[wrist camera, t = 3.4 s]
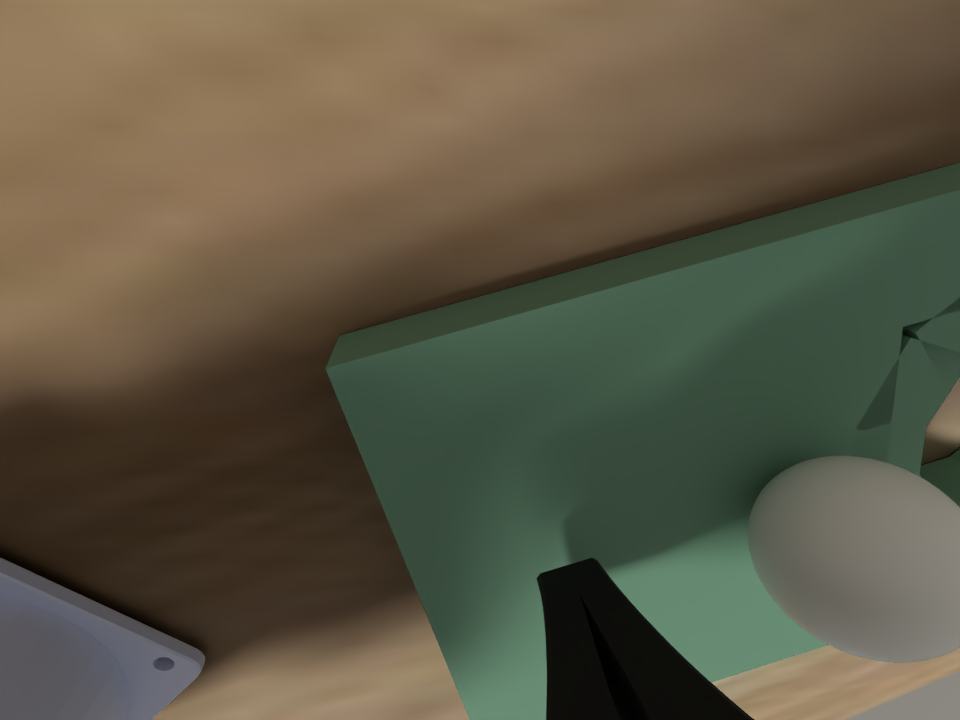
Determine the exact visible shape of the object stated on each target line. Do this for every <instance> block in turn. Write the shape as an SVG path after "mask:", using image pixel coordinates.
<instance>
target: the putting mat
mask: <svg viewBox="0 0 960 720" xmlns="http://www.w3.org/2000/svg"><path fill="white" fill-rule="evenodd" d="M325 369H326V371H327V374H328V376H329V379H330V381H331V384H332V386H333V388H334V391H335V393H336V396H337V398H338V401H339V403H340V405H341V408H342V410H343V413H344V415H345V418H346V420H347V422H348V425H349V427H350V430H351V432H352V435H353V437H354V439H355V442H356V444H357V447H358V449H359V452H360V454H361V456H362V459H363V461H364V464H365V466H366V469H367V471H368V473H369V476H370V478H371V481H372V483H373V486H374V488H375V491H376V493H377V495H378V498H379V500H380V503H381V505H382V508H383V510H384V512H385V515H386V517H387V520H388V522H389V525H390V527H391V529H392V532H393V534H394V537H395V539H396V542H397V544H398V546H399V549H400V551H401V554H402V556H403V559H404V561H405V563H406V566H407V568H408V571H409V573H410V576H411V578H412V580H413V583H414V585H415V588H416V590H417V593H418V595H419V597H420V600H421V602H422V605H423V607H424V610H425V612H426V614H427V617H428V619H429V622H430V624H431V627H432V629H433V631H434V634H435V636H436V639H437V641H438V644H439V646H440V648H441V651H442V653H443V656H444V658H445V661H446V663H447V665H448V668H449V670H450V673H451V675H452V678H453V680H454V682H455V685H456V687H457V690H458V692H459V695H460V697H461V699H462V702H463V704H464V707H465V709H466V712H467V714H468V717H469V719H470V720H546V699H547V662H546V636H545V624H544V614H543V606H542V600H541V594H540V590H539V586H538V582H537V579H536V578H537V577H538V576H539V574H540V573H543V572H546V571H549V570H553V569H556V568H559V567H563V566H566V565H569V564H572V563H576V562H579V561H582V560H586V559H589V558H594V559H596V560H598V562H599V563H600V565H601V566H602V567H603V569H604V570H605V571H606V573H607V574H608V575H609V577H610V578H611V579H612V580H613V582H614V583H615V584H616V585H617V586H618V588H619V589H620V590H621V591H622V592H623V594H624V595H625V596H626V597H627V598H628V599H629V600H630V602H631V603H632V604H633V605H634V606H635V607H636V608H637V610H638V611H639V612H640V613H641V614H642V615H643V616H644V617H645V618H646V619H647V620H648V621H649V622H650V623H651V624H652V625H653V627H654V628H655V629H656V630H657V631H658V632H659V633H660V634H661V635H662V636H663V637H664V638H665V639H666V640H667V641H668V642H669V643H670V644H671V645H672V646H673V647H674V648H675V649H676V650H677V651H678V652H679V653H680V654H681V655H682V656H683V657H684V658H685V659H686V660H687V661H688V662H689V663H691V664H692V665H693V666H694V667H695V668H696V669H697V670H698V671H699V672H700V673H701V674H702V675H703V676H704V677H705V678H707V679H708V680H709V681H710V682H714V681H717V680H720V679H724V678H727V677H730V676H733V675H736V674H739V673H742V672H745V671H748V670H752V669H755V668H758V667H761V666H764V665H767V664H770V663H773V662H776V661H779V660H783V659H786V658H789V657H792V656H795V655H798V654H801V653H804V652H807V651H810V650H814V649H817V648H820V647H823V646H826V645H829V644H827V643H825V642H823V641H821V640H819V639H817V638H816V637H814V636H813V635H811V634H809V633H808V632H806V631H805V630H804V629H802V628H801V627H800V626H799V625H798V624H796V623H795V622H794V621H793V620H791V619H790V618H789V617H788V616H787V615H786V614H785V613H784V612H783V611H782V610H781V609H780V608H779V607H778V605H777V604H776V603H775V602H774V600H773V599H772V598H771V597H770V595H769V594H768V593H767V591H766V589H765V588H764V586H763V584H762V583H761V581H760V579H759V577H758V575H757V573H756V570H755V568H754V565H753V562H752V559H751V555H750V551H749V544H748V524H749V519H750V514H751V511H752V508H753V505H754V503H755V501H756V499H757V497H758V496H759V494H760V492H761V491H762V490H763V488H764V487H765V486H766V485H767V484H768V483H769V482H770V481H771V480H772V479H773V478H774V477H775V476H776V475H778V474H779V473H781V472H782V471H784V470H786V469H787V468H789V467H792V466H794V465H796V464H798V463H801V462H803V461H806V460H810V459H815V458H820V457H827V456H855V457H863V458H870V459H874V460H878V461H882V462H886V463H889V464H892V465H895V466H897V467H900V468H903V469H905V470H907V471H909V472H911V473H913V474H915V475H917V476H919V477H921V478H923V479H925V480H926V481H928V482H929V483H931V484H932V485H934V486H935V487H937V488H938V489H939V490H941V491H942V492H943V493H944V494H946V495H947V496H948V497H949V498H950V499H951V500H953V501H954V502H955V503H956V504H957V505H958V506H959V507H960V449H959V450H958V451H956V452H955V453H954V454H952V455H951V456H950V457H947V458H944V459H940V460H937V461H934V462H931V463H927V464H924V465H921V460H922V454H923V447H924V441H925V434H926V428H927V426H928V424H929V423H930V421H931V420H932V418H933V417H934V415H935V414H936V412H937V411H938V409H939V407H940V406H941V404H942V403H943V401H944V400H945V398H946V397H947V395H948V394H949V392H950V391H951V389H952V388H953V386H954V385H955V383H956V382H957V380H958V379H959V377H960V163H956V164H953V165H949V166H945V167H942V168H938V169H935V170H931V171H927V172H924V173H920V174H917V175H913V176H910V177H906V178H902V179H899V180H895V181H892V182H888V183H884V184H881V185H877V186H874V187H870V188H867V189H863V190H859V191H856V192H852V193H849V194H845V195H841V196H838V197H834V198H831V199H827V200H824V201H820V202H816V203H813V204H809V205H806V206H802V207H798V208H795V209H791V210H788V211H784V212H781V213H777V214H773V215H770V216H766V217H763V218H759V219H755V220H752V221H748V222H745V223H741V224H738V225H734V226H730V227H727V228H723V229H720V230H716V231H712V232H709V233H705V234H702V235H698V236H695V237H691V238H687V239H684V240H680V241H677V242H673V243H669V244H666V245H662V246H659V247H655V248H652V249H648V250H644V251H641V252H637V253H634V254H630V255H626V256H623V257H619V258H616V259H612V260H609V261H605V262H601V263H598V264H594V265H591V266H587V267H583V268H580V269H576V270H573V271H569V272H566V273H562V274H558V275H555V276H551V277H548V278H544V279H540V280H537V281H533V282H530V283H526V284H523V285H519V286H515V287H512V288H508V289H505V290H501V291H497V292H494V293H490V294H487V295H483V296H480V297H476V298H472V299H469V300H465V301H462V302H458V303H454V304H451V305H447V306H444V307H440V308H437V309H433V310H429V311H426V312H422V313H419V314H415V315H411V316H408V317H404V318H401V319H397V320H394V321H390V322H386V323H383V324H379V325H376V326H372V327H368V328H365V329H361V330H358V331H354V332H351V333H347V334H343V335H340V336H339V337H338V340H337V342H336V344H335V347H334V349H333V352H332V354H331V356H330V359H329V361H328V363H327V366H326V368H325Z"/></svg>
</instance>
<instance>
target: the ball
mask: <svg viewBox="0 0 960 720" xmlns="http://www.w3.org/2000/svg"><path fill="white" fill-rule="evenodd" d="M748 544H749V551H750V555H751V559H752V562H753V565H754V568H755V570H756V573H757V575H758V577H759V579H760V581H761V583H762V584H763V586H764V588H765V589H766V591H767V593H768V594H769V595H770V597H771V598H772V599H773V600H774V602H775V603H776V604H777V605H778V607H779V608H780V609H781V610H782V611H783V612H784V613H785V614H786V615H787V616H788V617H789V618H790V619H791V620H793V621H794V622H795V623H796V624H798V625H799V626H800V627H801V628H802V629H804V630H805V631H806V632H808V633H809V634H811V635H813V636H814V637H816V638H817V639H819V640H821V641H823V642H825V643H827V644H829V645H831V646H833V647H835V648H837V649H839V650H841V651H844V652H847V653H849V654H852V655H855V656H859V657H862V658H867V659H871V660H876V661H883V662H894V663H905V662H919V661H925V660H929V659H933V658H936V657H940V656H943V655H945V654H948V653H950V652H952V651H954V650H956V649H957V648H959V647H960V507H959V506H958V505H957V504H956V503H955V502H954V501H953V500H951V499H950V498H949V497H948V496H947V495H946V494H944V493H943V492H942V491H941V490H939V489H938V488H937V487H935V486H934V485H932V484H931V483H929V482H928V481H926V480H925V479H923V478H921V477H919V476H917V475H915V474H913V473H911V472H909V471H907V470H905V469H903V468H900V467H897V466H895V465H892V464H889V463H886V462H882V461H878V460H874V459H870V458H863V457H855V456H827V457H820V458H815V459H810V460H806V461H803V462H801V463H798V464H796V465H794V466H792V467H789V468H787V469H786V470H784V471H782V472H781V473H779V474H778V475H776V476H775V477H774V478H773V479H772V480H771V481H770V482H769V483H768V484H767V485H766V486H765V487H764V488H763V490H762V491H761V492H760V494H759V496H758V497H757V499H756V501H755V503H754V505H753V508H752V511H751V514H750V519H749V524H748Z"/></svg>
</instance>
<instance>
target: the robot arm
mask: <svg viewBox="0 0 960 720" xmlns="http://www.w3.org/2000/svg"><path fill="white" fill-rule="evenodd" d="M536 579H537V582H538V586H539V590H540V594H541V600H542V606H543V614H544V624H545V636H546V662H547V699H546V720H754V719H753V718H751V717H750V716H749V715H748V714H747V713H745V712H744V711H743V710H742V709H741V708H739V707H738V706H737V705H736V704H735V703H734V702H732V701H731V700H730V699H729V698H728V697H727V696H726V695H724V694H723V693H722V692H721V691H720V690H719V689H718V688H717V687H715V686H714V685H713V684H712V683H711V682H710V681H709V680H708V679H707V678H705V677H704V676H703V675H702V674H701V673H700V672H699V671H698V670H697V669H696V668H695V667H694V666H693V665H692V664H691V663H689V662H688V661H687V660H686V659H685V658H684V657H683V656H682V655H681V654H680V653H679V652H678V651H677V650H676V649H675V648H674V647H673V646H672V645H671V644H670V643H669V642H668V641H667V640H666V639H665V638H664V637H663V636H662V635H661V634H660V633H659V632H658V631H657V630H656V629H655V628H654V627H653V625H652V624H651V623H650V622H649V621H648V620H647V619H646V618H645V617H644V616H643V615H642V614H641V613H640V612H639V611H638V610H637V608H636V607H635V606H634V605H633V604H632V603H631V602H630V600H629V599H628V598H627V597H626V596H625V595H624V594H623V592H622V591H621V590H620V589H619V588H618V586H617V585H616V584H615V583H614V582H613V580H612V579H611V578H610V577H609V575H608V574H607V573H606V571H605V570H604V569H603V567H602V566H601V565H600V563H599V562H598V560H596V559H594V558H589V559H586V560H582V561H579V562H576V563H572V564H569V565H566V566H563V567H559V568H556V569H553V570H549V571H546V572H543V573H540V574H539V576H538V577H537V578H536ZM204 663H205V656H204V655H203V653H202V652H201V651H200V650H198V649H197V648H195V647H192V646H190V645H188V644H186V643H184V642H182V641H180V640H177V639H175V638H173V637H171V636H169V635H167V634H164V633H162V632H160V631H158V630H156V629H154V628H152V627H149V626H147V625H145V624H143V623H141V622H139V621H136V620H134V619H132V618H130V617H128V616H126V615H123V614H121V613H119V612H117V611H115V610H113V609H111V608H108V607H106V606H104V605H102V604H100V603H98V602H95V601H93V600H91V599H89V598H87V597H85V596H82V595H80V594H78V593H76V592H74V591H72V590H70V589H67V588H65V587H63V586H61V585H59V584H57V583H54V582H52V581H50V580H48V579H46V578H44V577H41V576H39V575H37V574H35V573H33V572H31V571H29V570H26V569H24V568H22V567H20V566H18V565H16V564H13V563H11V562H9V561H7V560H5V559H3V558H1V557H0V720H152V719H153V718H154V717H155V716H156V715H157V714H158V713H159V712H161V711H162V710H163V709H164V708H165V707H166V706H167V705H168V704H169V703H170V702H171V701H172V700H173V699H174V698H176V697H177V696H178V695H179V694H180V693H181V692H182V691H183V690H184V689H185V688H186V687H187V686H188V685H190V684H191V683H192V682H193V681H194V680H195V679H196V678H197V677H198V676H199V674H200V673H201V670H202V668H203V666H204Z"/></svg>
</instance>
